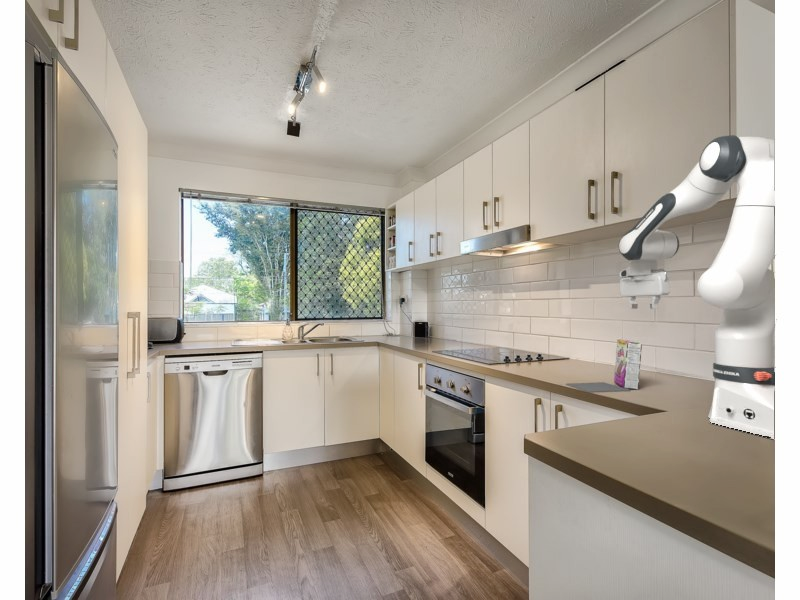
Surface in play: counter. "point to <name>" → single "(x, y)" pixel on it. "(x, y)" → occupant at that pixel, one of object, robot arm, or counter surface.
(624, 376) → the candy bar box
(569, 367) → the counter surface
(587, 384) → the mat
